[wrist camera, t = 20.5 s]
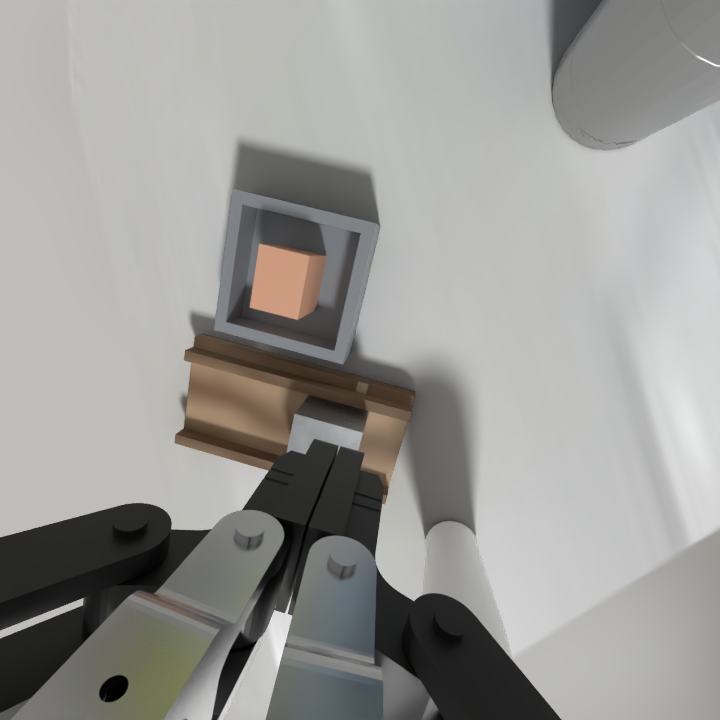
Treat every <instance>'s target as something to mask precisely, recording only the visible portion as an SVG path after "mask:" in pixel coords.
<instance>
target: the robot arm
mask: <svg viewBox="0 0 720 720" xmlns="http://www.w3.org/2000/svg"><path fill="white" fill-rule="evenodd" d="M552 94H553V106H554V110H555V114H556V117H557V119H558V121H559V123H560V125H561V127H562V128H563V130H564V131H565V132H566V133H567V134H568V135H569V136H570V137H571V138H572V139H573V140H575V141H576V142H578V143H580V144H581V145H584V146H587V147H589V148H592V149H601V150H610V149H619V148H622V147H625V146H628V145H631V144H634V143H636V142H638V141H640V140H642V139H644V138H645V137H647V136H649V135H651V134H653V133H655V132H657V131H659V130H661V129H663V128H665V127H668V126H670V125H672V124H673V123H675V122H677V121H679V120H681V119H683V118H685V117H687V116H689V115H691V114H693V113H695V112H697V111H699V110H701V109H703V108H705V107H707V106H709V105H711V104H713V103H714V102H716V101H718V100H720V0H602V1H601V3H600V4H599V5H598V7H597V8H596V9H595V11H594V12H593V13H592V15H591V16H590V17H589V19H588V20H587V22H586V23H585V24H584V26H583V27H582V28H581V30H580V31H579V33H578V34H577V35H576V37H575V38H574V39H573V41H572V42H571V43H570V45H569V46H568V48H567V49H566V51H565V53H564V55H563V56H562V58H561V60H560V62H559V64H558V68H557V71H556V74H555V77H554V83H553V90H552ZM338 447H339V445H335V444H332V443H328V442H325V441H321V440H317V439H314V440H313V441H312V443H311V445H310V447H309V449H308V450H307V452H306V454H303V453H299V452H296V451H292V450H291V451H289V452H287V453H285V454H283V455H282V456H280V457H278V458H277V460H276V461H275V463H274V464H273V466H272V467H271V469H270V470H269V471H268V473H267V474H266V476H265V478H264V479H263V480H262V482H261V483H260V485H259V486H258V487H257V489H256V490H255V492H254V493H253V495H252V496H251V498H250V499H249V501H248V502H247V504H246V505H245V506H244V508H243V509H242V510H241V511H236V512H233V513H230V514H228V515H226V516H225V517H223V518H222V519H221V520H220V521H219V522H218V523H217V524H216V525H215V526H214V527H213V528H212V529H210V530H171V525H172V523H171V518H170V516H169V515H168V513H167V512H166V511H164V510H163V509H161V508H159V507H157V506H154V505H150V504H144V503H133V504H125V505H121V506H117V507H114V508H110V509H106V510H102V511H98V512H95V513H91V514H87V515H83V516H79V517H76V518H72V519H68V520H64V521H61V522H57V523H53V524H49V525H46V526H42V527H38V528H34V529H31V530H27V531H23V532H20V533H16V534H12V535H8V536H4V537H1V538H0V630H3V629H5V628H7V627H10V626H12V625H15V624H18V623H20V622H23V621H25V620H28V619H30V618H33V617H36V616H38V615H41V614H43V613H46V612H48V611H51V610H54V609H56V608H59V607H61V606H64V605H66V604H69V603H72V602H74V601H77V600H79V599H82V598H84V602H83V606H80V607H78V608H76V609H73V610H71V611H68V612H65V613H63V614H60V615H58V616H56V617H53V618H51V619H48V620H46V621H43V622H41V623H38V624H36V625H33V626H31V627H28V628H26V629H23V630H21V631H18V632H16V633H13V634H11V635H8V636H6V637H3V638H1V639H0V720H224V718H225V716H226V714H227V712H228V710H229V708H230V706H231V704H232V702H233V700H234V698H235V696H236V694H237V692H238V690H239V688H240V686H241V684H242V682H243V680H244V678H245V676H246V673H247V671H248V669H249V667H250V665H251V663H252V661H253V659H254V657H255V655H256V653H257V651H258V649H259V647H260V644H261V641H262V636H263V633H264V632H265V630H266V628H267V627H268V624H269V622H270V619H271V617H272V614H273V612H274V610H276V611H279V612H282V613H285V611H286V609H287V606H288V603H289V600H290V598H291V595H292V598H291V603H290V607H289V611H288V614H290V615H293V616H292V620H291V624H290V628H289V632H288V636H287V640H286V643H285V646H284V650H283V654H282V658H281V662H280V666H279V670H278V674H277V678H276V681H275V685H274V689H273V693H272V697H271V701H270V705H269V709H268V713H267V717H266V720H561V719H560V718H559V716H558V715H557V714H556V713H555V712H554V710H553V709H552V708H551V707H550V705H549V704H548V703H547V702H546V701H545V699H544V698H543V697H542V696H541V694H540V693H539V692H538V691H537V690H536V689H535V687H534V686H533V685H532V684H531V682H530V681H529V680H528V679H527V678H526V676H525V675H524V674H523V673H522V671H521V670H520V669H519V668H518V667H517V666H516V664H515V663H514V662H513V661H512V659H511V658H510V657H509V656H508V655H507V653H506V652H505V651H504V650H503V649H502V647H501V646H500V645H499V644H498V642H497V641H496V640H495V639H494V638H493V636H492V635H491V634H490V633H489V632H488V630H487V629H486V628H485V627H484V626H483V624H482V623H481V622H480V621H479V619H478V618H477V617H476V616H475V615H474V614H473V613H472V611H471V610H470V609H468V608H467V607H466V606H465V605H464V604H462V603H461V602H459V601H458V600H456V599H454V598H452V597H449V596H447V595H443V594H438V593H428V594H424V595H422V596H420V597H419V598H417V599H416V600H415V601H412V600H411V599H409V598H408V597H406V596H404V595H403V594H401V593H399V592H398V591H397V590H395V589H394V588H393V587H391V586H390V585H389V584H388V583H387V582H386V581H385V580H384V578H383V577H382V575H381V574H380V572H379V570H378V568H377V565H376V561H375V552H376V544H377V537H378V530H379V522H380V515H381V508H382V500H383V493H384V486H383V484H382V482H381V480H380V477H379V475H376V474H373V473H369V472H366V471H362V470H360V469H361V465H362V462H363V458H364V454H365V453H364V452H360V451H357V450H353V449H350V448H346V447H343V446H340V448H339V451H338ZM337 452H338V453H337ZM292 592H293V594H292Z"/></svg>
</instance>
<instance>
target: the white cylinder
mask: <svg viewBox="0 0 720 720" xmlns="http://www.w3.org/2000/svg"><path fill="white" fill-rule="evenodd" d="M425 552H426V554H425V567H424V579H423V591H422V595H424V594H428V593H438V594H443V595H447V596H449V597H452V598H454V599H456V600H458V601H459V602H461V603H462V604H464V605H465V606H466V607H467V608H468V609H470V610H471V611H472V613H473V614H474V615H475V616H476V617H477V618H478V619H479V621H480V622H481V623H482V624H483V626H484V627H485V628H486V629H487V630H488V632H489V633H490V634H491V635H492V636H493V638H494V639H495V640H496V641H497V642H498V644H499V645H500V646H501V647H502V649H503V650H504V651H505V652H506V653H507V655H508V656H509V657H510V658H511V659H512V656H511V651H510V647H509V643H508V639H507V635H506V631H505V628H504V624H503V621H502V618H501V615H500V612H499V609H498V606H497V603H496V600H495V597H494V594H493V591H492V588H491V585H490V582H489V579H488V576H487V573H486V570H485V567H484V564H483V561H482V558H481V555H480V552H479V548H478V543H477V539H476V537H475V535H474V533H473V532H472V531H471V530H470V529H469V528H468V527H467V526H465V525H464V524H462V523H459V522H456V521H444V522H440V523H438V524H436V525H435V526H433V527H432V528H431V529H430V531H429V532H428V534H427V536H426V541H425Z"/></svg>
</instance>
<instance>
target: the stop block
mask: <svg viewBox="0 0 720 720" xmlns="http://www.w3.org/2000/svg"><path fill="white" fill-rule="evenodd" d="M326 257H327V256H325V255H321V254H317V253H313V252H309V251H305V250H301V249H297V248H292V247H288V246H284V245H271V244H259V248H258V255H257V262H256V268H255V275H254V282H253V288H252V295H251V301H250V308H253V309H257V310H261V311H265V312H269V313H273V314H277V315H281V316H285V317H288V318H292V319H296V320H298V319H300V318H302V317H304V316H306V315H307V314H309V313H311V312H313V311H315V310H316V307H317V302H318V297H319V292H320V287H321V282H322V277H323V272H324V267H325V262H326Z"/></svg>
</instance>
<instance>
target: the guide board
mask: <svg viewBox="0 0 720 720" xmlns="http://www.w3.org/2000/svg"><path fill="white" fill-rule="evenodd" d="M184 360H185V361H188V362H192V365H191V373H190V382H189V390H188V398H187V407H186V415H185V424H184V429H182V430H181V431H180V432H178V433H177V434H176V435H175V443H176V444H179V445H183V446H186V447H190V448H193V449H196V450H200V451H203V452H207V453H210V454H214V455H217V456H221V457H224V458H227V459H231V460H234V461H238V462H241V463H245V464H248V465H251V466H255V467H258V468H262V469H265V470H270V469H271V467H272V466H273V464H274V463H275V461H276V460H277V458H278V457H280V456H282V455H283V454H285V453H287V448H288V443H289V438H290V433H291V429H292V424H293V419H294V414H295V412H296V411H297V410H298V409H299V407H300V406H301V405H302V403H303V402H304V401H305V399H306V398H307V397H308V396H309V395H312V396H316V397H319V398H323V399H326V400H330V401H334V402H337V403H341V404H345V405H348V406H352V407H356V408H359V409H363V410H366V411H369V415H368V419H367V422H366V426H365V430H364V434H363V438H362V441H361V445H360V449H359V451H360V452H364V453H365V454H364V458H363V462H362V465H361V469H360V470H362V471H366V472H369V473H373V474H376V475H379V477H380V480H381V482H382V484H383V486H384V493H383V500H382V504H385V502H386V499H387V495H388V487H389V483H390V480H391V477H392V473H393V470H394V466H395V463H396V460H397V456H398V453H399V449H400V446H401V443H402V439H403V436H404V432H405V429H406V426H407V422H409V421H410V417H411V414H412V405H413V402H414V398H415V391H411V390H408V389H404V388H400V387H397V386H393V385H389V384H385V383H382V382H378V381H374V380H371V379H367V378H363V377H359V376H356V375H352V374H348V373H345V372H341V371H337V370H333V369H330V368H326V367H322V366H319V365H315V364H311V363H307V362H304V361H300V360H296V359H293V358H289V357H285V356H281V355H278V354H274V353H270V352H267V351H263V350H259V349H255V348H252V347H248V346H244V345H241V344H237V343H233V342H229V341H226V340H222V339H218V338H215V337H211V336H207V335H204V334H202V335H199V336H197V337H195V340H194V347H192V348H190V349H187V350H185V356H184Z"/></svg>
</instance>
